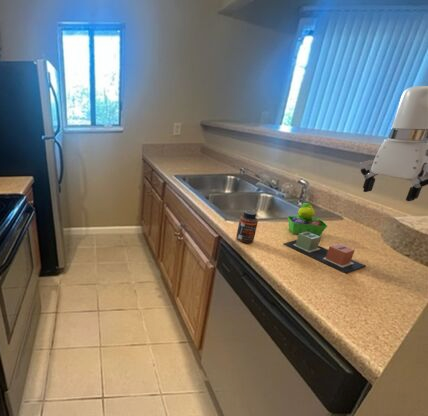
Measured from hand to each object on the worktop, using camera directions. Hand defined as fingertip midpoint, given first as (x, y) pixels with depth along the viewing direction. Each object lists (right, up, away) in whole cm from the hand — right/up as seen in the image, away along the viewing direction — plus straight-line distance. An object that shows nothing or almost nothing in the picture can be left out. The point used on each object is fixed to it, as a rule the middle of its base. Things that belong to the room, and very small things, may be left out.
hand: (387, 195), depth 80 cm
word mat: (-9, -20, +13) cm, 25 cm away
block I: (-7, -21, +8) cm, 23 cm away
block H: (-11, -17, +17) cm, 27 cm away
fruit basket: (-3, -13, +29) cm, 32 cm away
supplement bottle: (-30, -16, +23) cm, 41 cm away
